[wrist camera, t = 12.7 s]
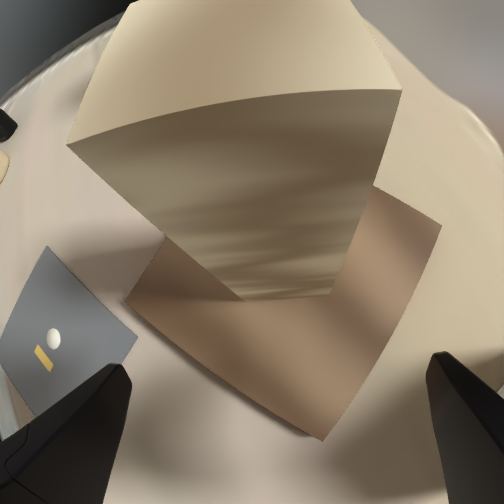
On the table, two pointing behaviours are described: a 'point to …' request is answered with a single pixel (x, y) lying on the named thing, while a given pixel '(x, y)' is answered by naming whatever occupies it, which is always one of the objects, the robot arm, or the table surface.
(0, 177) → the candle
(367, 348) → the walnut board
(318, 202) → the birch block
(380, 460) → the table surface
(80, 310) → the gray mat
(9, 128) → the mobile phone
